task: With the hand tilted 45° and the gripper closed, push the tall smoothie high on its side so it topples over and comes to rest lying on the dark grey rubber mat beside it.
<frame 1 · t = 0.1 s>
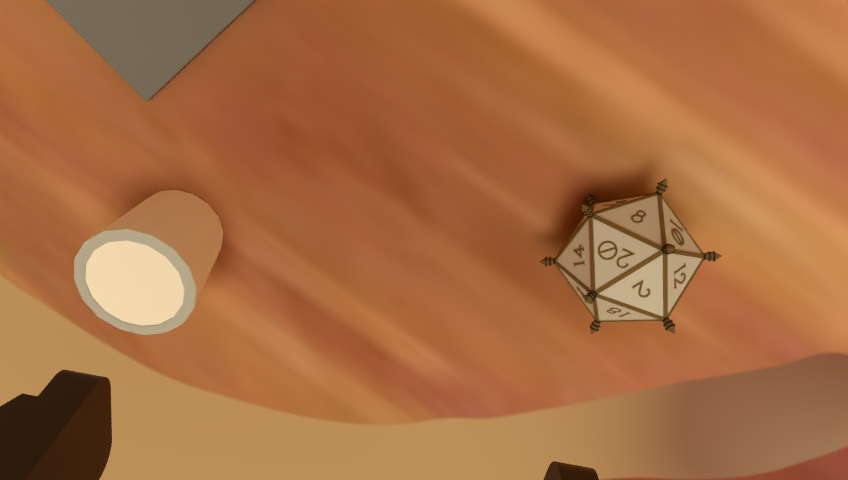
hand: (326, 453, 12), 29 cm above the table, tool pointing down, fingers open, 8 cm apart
game die: (612, 226, 42), on the table
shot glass: (181, 228, 44), on the table
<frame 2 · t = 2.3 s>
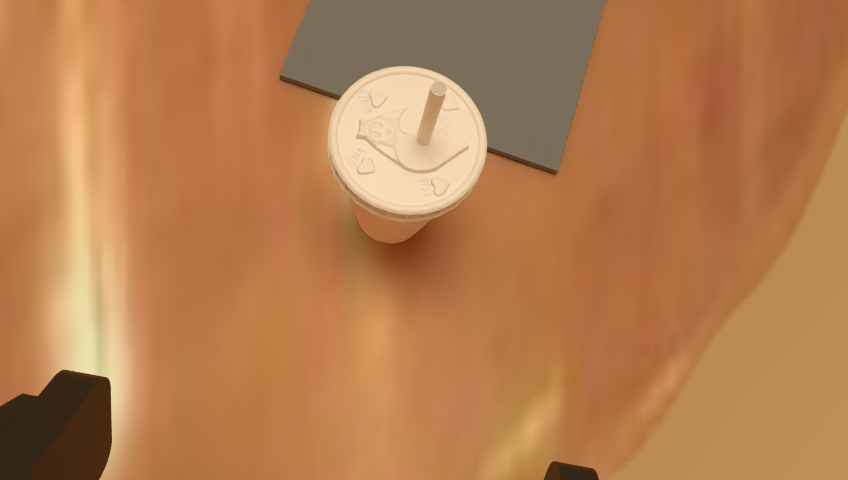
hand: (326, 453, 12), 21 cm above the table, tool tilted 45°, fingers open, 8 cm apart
mat: (460, 8, 39), on the table
smoothie: (389, 210, 36), on the table
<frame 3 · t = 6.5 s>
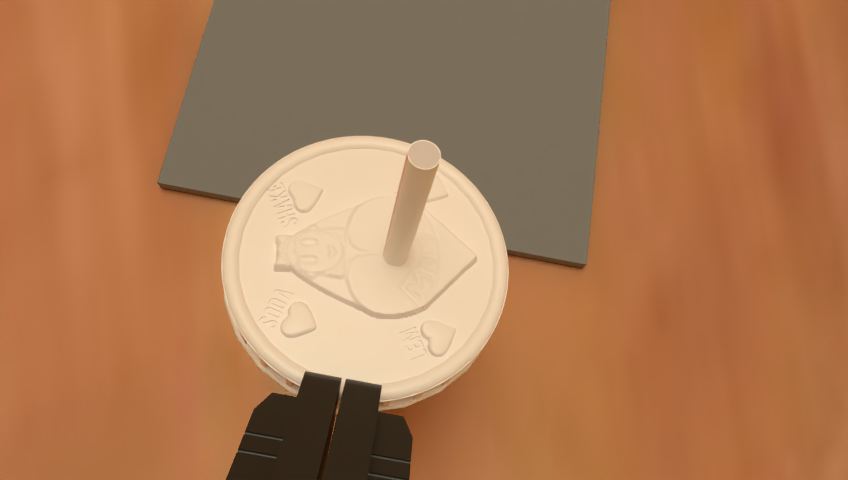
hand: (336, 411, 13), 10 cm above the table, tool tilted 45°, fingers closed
mat: (411, 47, 28), on the table
smoothie: (348, 363, 24), on the table, touching gripper
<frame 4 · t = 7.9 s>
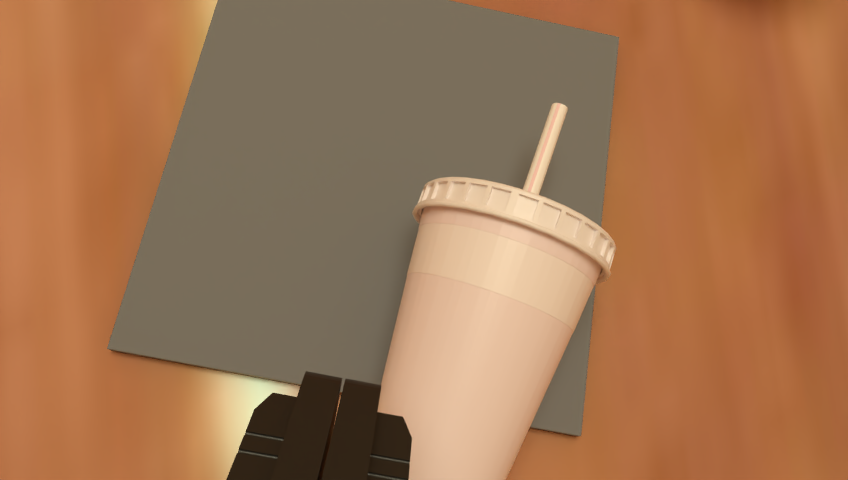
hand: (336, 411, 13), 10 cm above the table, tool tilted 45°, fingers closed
mat: (391, 180, 25), on the table
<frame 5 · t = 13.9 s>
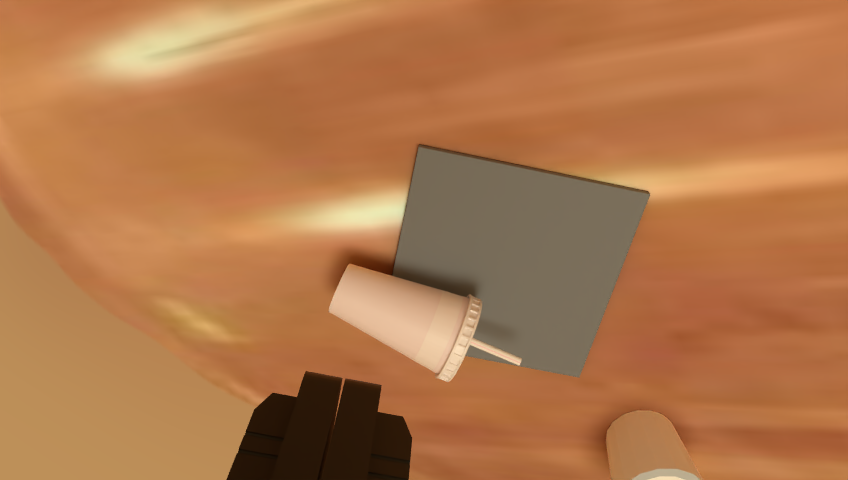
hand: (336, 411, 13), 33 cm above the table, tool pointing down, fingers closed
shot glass: (639, 434, 56), on the table
mat: (505, 268, 49), on the table
smoothie: (336, 286, 47), point 3 cm above the table, touching mat
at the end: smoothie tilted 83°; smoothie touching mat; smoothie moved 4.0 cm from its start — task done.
